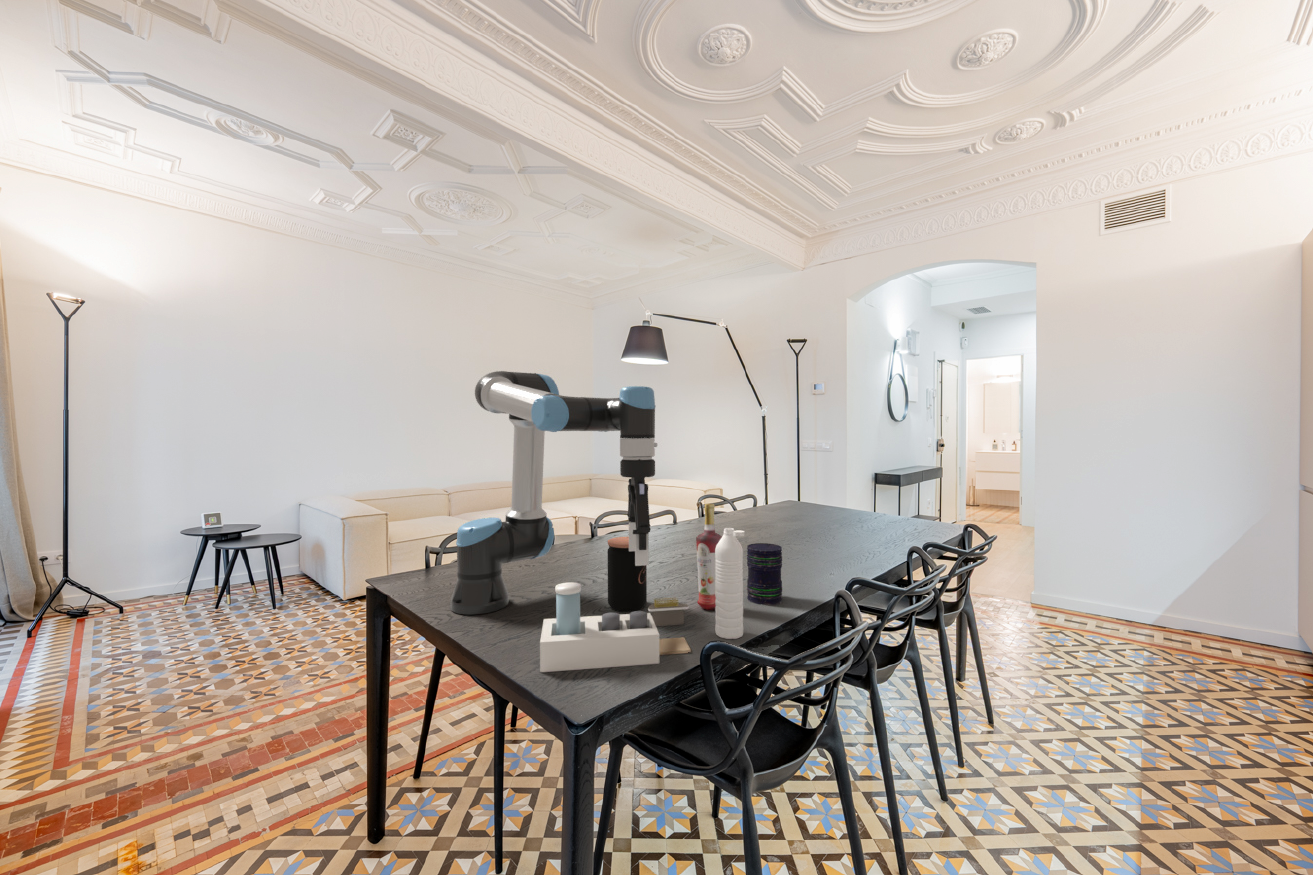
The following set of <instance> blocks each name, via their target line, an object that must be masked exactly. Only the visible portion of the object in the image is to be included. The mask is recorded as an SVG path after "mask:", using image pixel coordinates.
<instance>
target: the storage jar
mask: <svg viewBox="0 0 1313 875" xmlns="http://www.w3.org/2000/svg"><path fill="white" fill-rule="evenodd" d="M746 550H747V551H746V560H747V561H746V565H747V579H746V580H747V581H746V584H747V585H746V591H747V592H746V593H747V597H746V598H747V600H748V601H749V602H750V603H753V604H756V605H761V604H762V606H771V605H772V606H773V605H778V604H780V603H783V602H782V601H783V598H782V596H783V581H782V568H783V556H782V555H783V554H782V551H783V547H782V546H781V545H778V544H773V543H768V542H767V543H766V542H764V543H763V542H762V543H761V542H757V543H755V542H754V543H750V544H748V545H747V546H746Z"/></svg>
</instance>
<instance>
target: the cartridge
mask: <svg viewBox="0 0 1313 875" xmlns="http://www.w3.org/2000/svg"><path fill="white" fill-rule="evenodd" d="M554 587H555V588H554V591H555V593H556V595H555V600H556V602H555V608H556V609H555V610H556V611H555V613H556V617H555V618H556V628H557V635H571V634H580V617H581V591H582V585H581V584H580V583H578V582H562V583H558V584H556V585H555V586H554Z"/></svg>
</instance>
